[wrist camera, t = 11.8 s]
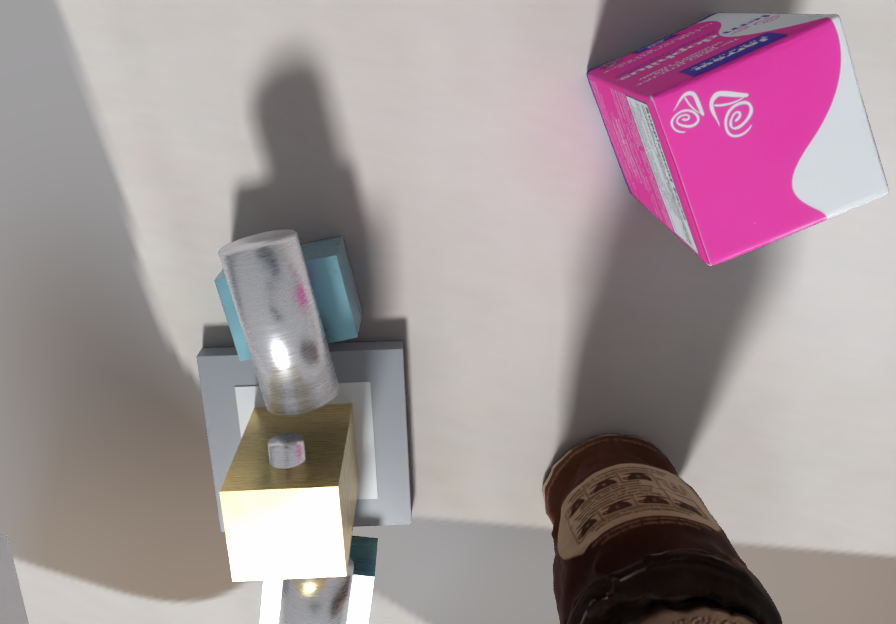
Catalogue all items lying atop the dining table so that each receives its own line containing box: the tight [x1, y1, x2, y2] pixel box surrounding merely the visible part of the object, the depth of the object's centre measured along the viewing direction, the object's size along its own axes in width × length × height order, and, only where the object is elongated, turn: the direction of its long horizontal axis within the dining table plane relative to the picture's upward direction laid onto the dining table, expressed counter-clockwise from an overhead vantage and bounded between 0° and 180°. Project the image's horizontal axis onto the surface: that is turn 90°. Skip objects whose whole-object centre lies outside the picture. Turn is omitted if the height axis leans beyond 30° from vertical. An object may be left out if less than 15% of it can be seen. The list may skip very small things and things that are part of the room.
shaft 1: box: [214, 229, 363, 416], centre depth 35 cm, size 7×5×6 cm
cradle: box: [197, 341, 412, 532], centre depth 40 cm, size 9×9×1 cm
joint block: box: [220, 403, 359, 582], centre depth 36 cm, size 6×4×7 cm
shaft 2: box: [260, 536, 378, 624], centre depth 40 cm, size 7×5×6 cm
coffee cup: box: [542, 434, 782, 624], centre depth 35 cm, size 9×8×13 cm
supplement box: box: [587, 13, 889, 266], centre depth 30 cm, size 6×6×12 cm
